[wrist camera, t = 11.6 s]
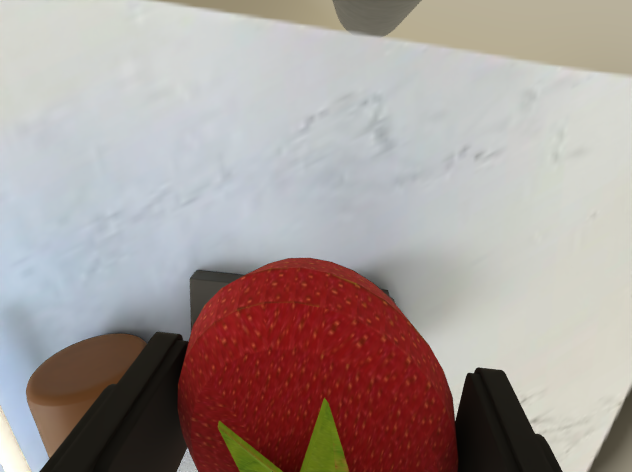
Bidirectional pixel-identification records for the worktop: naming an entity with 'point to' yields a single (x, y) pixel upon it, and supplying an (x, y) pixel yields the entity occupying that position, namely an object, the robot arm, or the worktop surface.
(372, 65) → the worktop surface
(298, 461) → the strawberry
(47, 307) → the worktop surface
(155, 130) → the worktop surface
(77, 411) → the mug
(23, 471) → the spatula
